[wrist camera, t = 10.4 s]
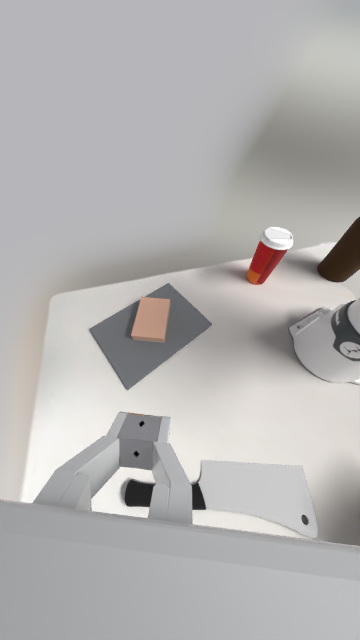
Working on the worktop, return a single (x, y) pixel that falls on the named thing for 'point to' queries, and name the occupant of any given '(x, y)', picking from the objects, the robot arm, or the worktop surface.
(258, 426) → the worktop surface
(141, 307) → the tile
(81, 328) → the worktop surface
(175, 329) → the mat
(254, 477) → the kitchen cleaver
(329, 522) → the worktop surface
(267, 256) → the coffee cup
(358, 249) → the olive oil
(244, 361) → the worktop surface
